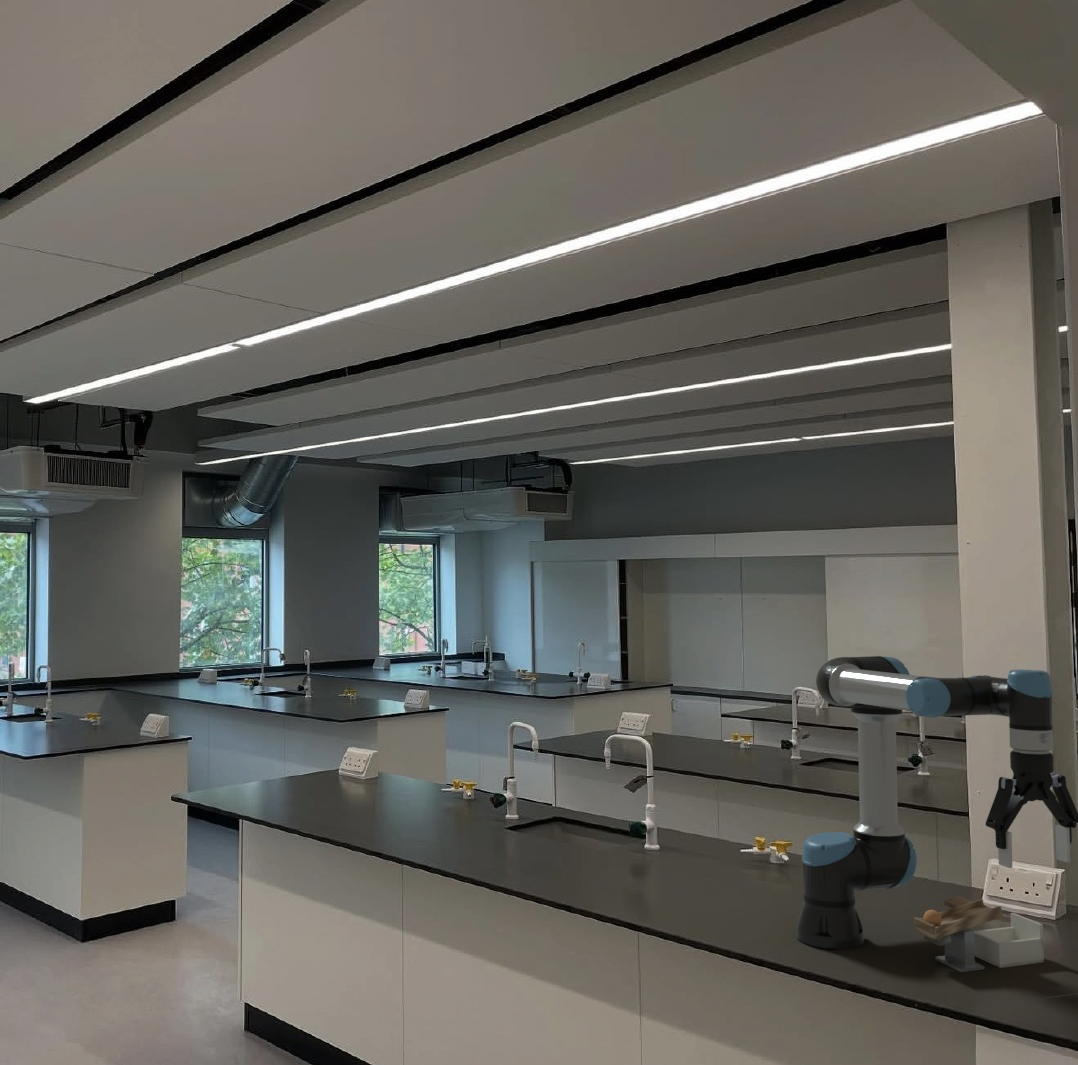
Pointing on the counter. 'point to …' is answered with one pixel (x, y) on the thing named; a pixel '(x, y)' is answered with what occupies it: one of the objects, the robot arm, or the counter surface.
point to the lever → (956, 919)
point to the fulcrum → (961, 952)
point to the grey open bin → (1011, 943)
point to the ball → (932, 917)
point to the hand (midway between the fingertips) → (1034, 863)
